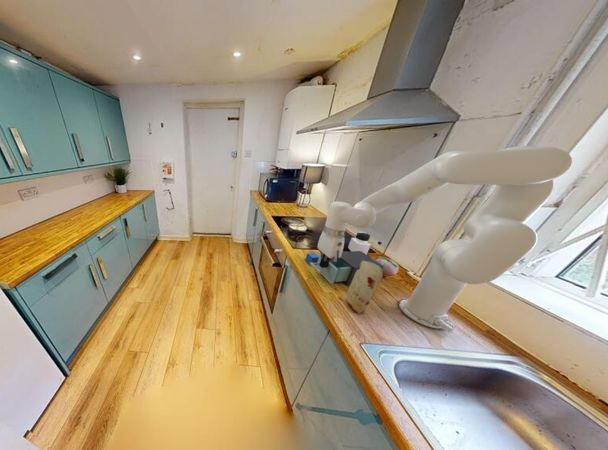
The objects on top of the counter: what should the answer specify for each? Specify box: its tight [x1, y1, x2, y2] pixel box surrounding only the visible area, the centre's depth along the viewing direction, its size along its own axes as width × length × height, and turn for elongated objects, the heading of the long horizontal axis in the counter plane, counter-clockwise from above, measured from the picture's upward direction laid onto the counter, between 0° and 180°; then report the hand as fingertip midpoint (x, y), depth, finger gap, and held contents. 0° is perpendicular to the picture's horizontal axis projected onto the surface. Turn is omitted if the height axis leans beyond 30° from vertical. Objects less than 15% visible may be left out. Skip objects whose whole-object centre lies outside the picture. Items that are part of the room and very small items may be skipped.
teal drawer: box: [309, 254, 352, 284], centre depth 93 cm, size 19×11×8 cm, turn 97°
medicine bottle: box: [347, 231, 372, 256], centre depth 114 cm, size 7×7×12 cm
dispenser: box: [340, 251, 384, 286], centre depth 94 cm, size 15×13×10 cm
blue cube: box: [305, 252, 320, 265], centre depth 104 cm, size 4×4×4 cm
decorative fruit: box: [374, 256, 400, 277], centre depth 95 cm, size 9×8×10 cm
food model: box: [346, 261, 383, 314], centre depth 74 cm, size 10×7×20 cm
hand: (323, 266), depth 91 cm, fingers closed
